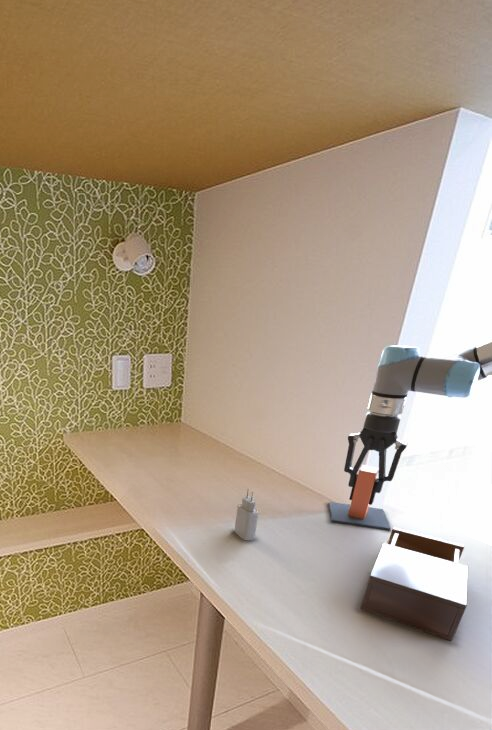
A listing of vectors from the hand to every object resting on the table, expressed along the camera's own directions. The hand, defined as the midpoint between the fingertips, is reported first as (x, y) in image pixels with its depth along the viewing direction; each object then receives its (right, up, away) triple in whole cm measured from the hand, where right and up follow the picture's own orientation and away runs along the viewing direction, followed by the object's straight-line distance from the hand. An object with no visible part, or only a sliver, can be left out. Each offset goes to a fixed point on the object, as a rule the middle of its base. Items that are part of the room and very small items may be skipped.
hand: (361, 500), depth 116 cm
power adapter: (-33, -9, -8) cm, 35 cm away
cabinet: (-7, -20, -32) cm, 39 cm away
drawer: (+1, -15, -22) cm, 27 cm away
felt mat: (0, -4, +2) cm, 5 cm away
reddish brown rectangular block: (0, -4, +2) cm, 4 cm away
